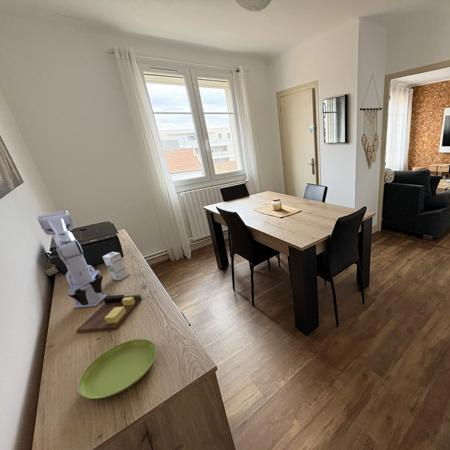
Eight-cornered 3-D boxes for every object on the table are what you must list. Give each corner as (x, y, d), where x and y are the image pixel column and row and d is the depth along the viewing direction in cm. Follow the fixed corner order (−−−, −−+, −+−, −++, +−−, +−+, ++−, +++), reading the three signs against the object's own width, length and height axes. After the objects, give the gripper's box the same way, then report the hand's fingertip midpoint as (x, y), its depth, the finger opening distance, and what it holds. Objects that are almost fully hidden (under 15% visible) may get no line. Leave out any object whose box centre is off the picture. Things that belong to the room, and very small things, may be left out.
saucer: (89, 422, 64) (85, 414, 63) (76, 376, 77) (72, 369, 76) (168, 366, 79) (166, 359, 78) (146, 336, 92) (143, 329, 90)
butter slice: (123, 305, 107) (121, 300, 106) (126, 302, 109) (124, 297, 107) (132, 305, 107) (130, 299, 106) (135, 302, 109) (133, 296, 108)
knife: (105, 303, 109) (102, 299, 108) (108, 300, 111) (106, 295, 110) (140, 300, 109) (138, 296, 108) (143, 297, 111) (141, 293, 110)
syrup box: (129, 275, 134) (120, 252, 128) (118, 281, 129) (109, 257, 123) (122, 273, 136) (113, 251, 130) (111, 279, 130) (101, 256, 125)
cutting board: (77, 332, 95) (76, 329, 95) (108, 302, 112) (107, 300, 111) (116, 329, 96) (114, 326, 95) (141, 299, 112) (140, 297, 112)
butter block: (106, 323, 97) (104, 318, 96) (117, 312, 103) (114, 307, 102) (116, 322, 97) (114, 317, 96) (126, 312, 103) (124, 306, 102)
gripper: (74, 280, 88) (88, 309, 93) (102, 260, 102) (113, 287, 107) (55, 282, 88) (70, 311, 93) (85, 262, 102) (97, 288, 107)
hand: (92, 298), depth 100 cm, fingers open, 7 cm apart
